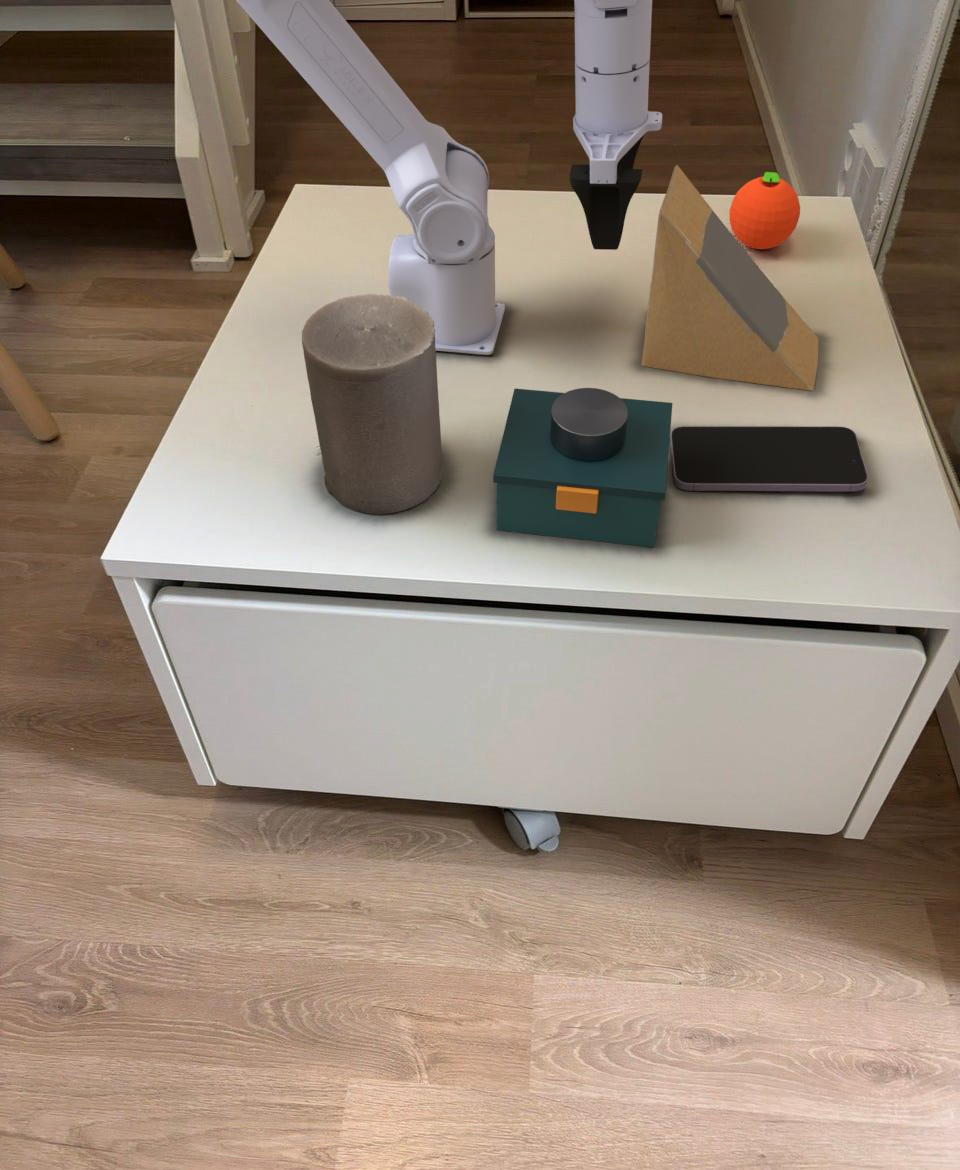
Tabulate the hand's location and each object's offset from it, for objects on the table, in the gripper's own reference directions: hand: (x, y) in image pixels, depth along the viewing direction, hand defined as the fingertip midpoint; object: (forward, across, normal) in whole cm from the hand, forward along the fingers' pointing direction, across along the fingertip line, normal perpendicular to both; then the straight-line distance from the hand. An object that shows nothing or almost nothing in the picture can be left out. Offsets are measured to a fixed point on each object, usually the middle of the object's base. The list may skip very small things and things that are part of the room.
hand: (609, 224), depth 89 cm
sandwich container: (+11, -2, -11) cm, 16 cm away
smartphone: (+11, -17, -14) cm, 25 cm away
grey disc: (+4, -23, 0) cm, 24 cm away
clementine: (+12, +18, -14) cm, 25 cm away
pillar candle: (+9, -23, +16) cm, 30 cm away
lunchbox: (+10, -23, 0) cm, 25 cm away
